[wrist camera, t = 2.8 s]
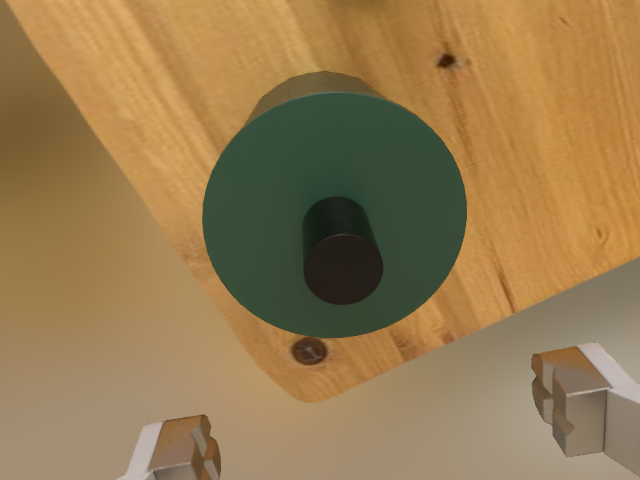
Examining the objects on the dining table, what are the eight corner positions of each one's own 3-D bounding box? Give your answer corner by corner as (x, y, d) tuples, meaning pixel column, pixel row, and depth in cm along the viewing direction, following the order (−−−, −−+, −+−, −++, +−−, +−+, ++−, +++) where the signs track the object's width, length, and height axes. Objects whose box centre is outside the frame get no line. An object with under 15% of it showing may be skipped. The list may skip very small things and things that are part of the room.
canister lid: (448, 62, 23) (493, 77, 18) (468, 302, 28) (507, 369, 23) (173, 117, 23) (137, 147, 18) (241, 344, 28) (229, 418, 23)
